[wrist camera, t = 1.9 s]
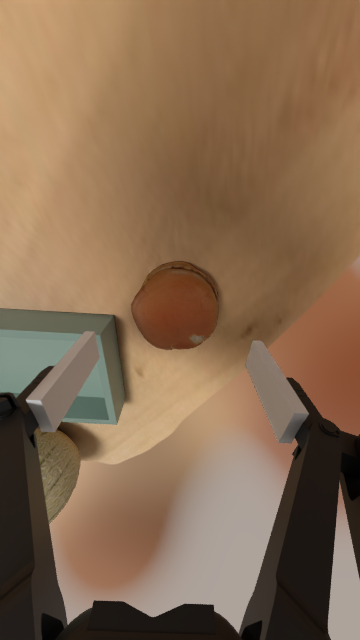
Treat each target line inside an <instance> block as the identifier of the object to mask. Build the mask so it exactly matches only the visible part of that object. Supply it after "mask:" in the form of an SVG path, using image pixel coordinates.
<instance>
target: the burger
mask: <svg viewBox="0 0 360 640" xmlns="http://www.w3.org/2000/svg"><path fill="white" fill-rule="evenodd" d="M217 302H218V293H217V291H216V287H215V286H214V284H213V282H212V281H211V279H210V277H208V276H207V275H206V274H204V273H203V272H201V271H199V270H197V269H196V268H194V267H193V266H192V265H190V264H188V263H185V262H170V263H167V264H163V265H161V266H159V267H157V268H156V269H155V270H153V271H152V272H151V273H150V274H149V275H148V276H147V278H146V279H145V281H144V283H143V285H142V288H141V289H140V291H139V292H138V293H137V295H136V296H135V298H134V300H133V302H132V304H131V310H132V315H133V318H134V320H135V322H136V325H137V326H138V328H139V330H140V332H141V334H142V335H143V336H144V338H145V339H146V340H147V341H148V342H149V343H151V344H152V345H154V346H155V347H157V348H160V349H165V350H172V349H189V348H193V347H196V346H198V345H200V344H201V343H202V342H203V341H205V340H206V339H207V338H209V337H210V335H211V334H212V332H213V331H214V329H215V327H216V324H217V318H218V303H217Z"/></svg>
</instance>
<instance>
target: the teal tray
mask: <svg viewBox="0 0 360 640" xmlns="http://www.w3.org/2000/svg"><path fill="white" fill-rule="evenodd" d="M85 331H93V332H95V336H96V341H97V346H98V351H99V356H100V358H99V360H98V361H97V363H96V365H95V366H94V368H93V370H92V371H91V373H90V375H89V376H88V378H87V380H86V381H85V383H84V385H83V386H82V388H81V390H80V391H79V393H78V395H77V396H76V398H75V400H74V401H73V403H72V405H71V406H70V408H69V410H68V411H67V413H66V415H65V416H64V418H63V420H62V421H61V422H75V423H94V424H113V425H117V423H118V420H119V417H120V414H121V411H122V407H123V404H124V401H125V392H124V385H123V377H122V370H121V363H120V355H119V348H118V341H117V333H116V326H115V319H114V315H104V314H87V313H70V312H52V311H35V310H18V309H1V308H0V393H4V392H10V393H13V394H14V396H15V398H17V397H18V395H19V394H20V393H21V392H22V391H23V390H24V389H25V388H26V387H27V386H28V385H29V384H30V383H31V382H32V380H33V379H34V378H36V376H37V375H38V374H39V373H40V372H41V371H42V370H44V369H45V368H47V367H48V366H55V365H56V364H57V363H58V362H59V361H60V360H61V359H62V357H63V356H64V355H65V354H66V353H67V352H68V350H69V349H70V348H71V347H72V346H73V345H74V344H75V342H76V341H77V340H78V339H79V338H80V337H81V336H82V334H83V333H84V332H85Z"/></svg>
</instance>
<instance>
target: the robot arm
mask: <svg viewBox="0 0 360 640" xmlns="http://www.w3.org/2000/svg"><path fill="white" fill-rule="evenodd" d="M99 358H100V356H99V351H98V346H97V341H96V336H95V332H93V331H85V332H84V333H83V334H82V336H81V337H80V338H79V339H78V340H77V341H76V342H75V344H74V345H73V346H72V347H71V348H70V349H69V350H68V352H67V353H66V354H65V355H64V356H63V357H62V359H61V360H60V361H59V362H58V363H57V364H56V365H55V366H48V367H47V368H45V369H44V370H42V371H41V372H40V373H39V374H38V375H37V376H36V378H34V379H33V380H32V382H31V383H30V384H29V385H28V386H27V387H26V388H25V389H24V390H23V391H22V392H21V393H20V394H19V395H18V397H17V398H15V396H14V394H13V393H10V392H4V393H0V640H331V639H330V637H329V634H328V613H329V612H328V611H329V600H330V588H331V575H332V564H333V552H334V540H335V528H336V516H337V504H338V491H339V480H340V484H341V489H342V494H343V499H344V504H345V509H346V514H347V519H348V524H349V529H350V534H351V539H352V544H353V548H354V553H355V558H356V563H357V567H358V573H359V578H360V435H359V436H355V435H352V434H349V433H346V432H343V431H340V429H339V428H338V427H337V426H336V425H335V424H334V423H332V422H331V421H329V420H327V419H324V418H323V417H322V416H321V415H320V413H319V412H318V410H317V409H316V407H315V406H314V405H313V403H312V402H311V400H310V399H309V397H307V395H306V393H305V392H304V390H303V389H302V388H301V386H300V385H299V383H297V382H296V381H295V380H294V379H293V378H286V377H285V376H284V374H283V373H282V371H281V370H280V368H279V366H278V365H277V363H276V362H275V360H274V359H273V358H272V356H271V354H270V353H269V351H268V350H267V348H266V346H265V345H264V343H263V342H262V341H258V340H253V341H252V344H251V348H250V351H249V355H248V358H247V362H246V365H245V366H246V368H247V370H248V373H249V375H250V377H251V380H252V382H253V384H254V387H255V389H256V391H257V394H258V396H259V398H260V401H261V403H262V406H263V408H264V410H265V413H266V415H267V417H268V420H269V422H270V424H271V427H272V429H273V431H274V434H275V436H276V439H277V441H278V443H292V441H293V439H294V438H295V439H296V441H297V443H298V446H297V447H296V449H295V450H294V452H293V454H292V455H293V456H294V457H293V461H292V464H291V468H290V471H289V474H288V478H287V481H286V484H285V488H284V491H283V495H282V498H281V502H280V505H279V508H278V512H277V515H276V519H275V522H274V526H273V529H272V532H271V536H270V539H269V543H268V546H267V549H266V553H265V556H264V559H263V563H262V567H261V570H260V573H259V577H258V580H257V583H256V587H255V590H254V592H253V595H252V597H251V599H250V601H249V603H248V606H247V609H246V612H245V615H244V618H243V621H242V625H241V628H240V631H239V634H238V633H237V631H236V630H235V629H234V627H233V626H232V625H231V624H230V623H229V622H228V621H227V620H226V619H225V618H224V617H222V616H221V615H220V614H218V613H216V612H215V611H214V605H203V604H183V605H181V606H179V607H176V608H174V609H172V610H170V611H168V612H165V613H163V614H161V615H159V616H156V617H150V616H148V615H146V614H145V613H143V612H141V611H139V610H137V609H136V608H134V607H132V606H130V605H129V604H127V603H125V602H121V601H94V602H93V607H92V608H90V609H88V610H86V611H85V612H83V613H82V614H80V615H79V616H78V617H77V618H75V619H74V620H73V621H72V622H70V624H69V625H68V624H67V618H66V611H65V606H64V601H63V597H62V594H61V591H60V588H59V586H58V581H57V575H56V568H55V561H54V555H53V548H52V542H51V534H50V529H49V521H48V514H47V508H46V501H45V494H44V488H43V481H42V474H41V468H40V461H39V454H38V448H37V441H36V435H35V433H34V431H35V430H36V429H37V427H38V426H39V427H40V429H41V431H42V432H55V431H56V430H57V428H58V426H59V425H60V423H61V421H62V420H63V418H64V416H65V415H66V413H67V411H68V410H69V408H70V406H71V405H72V403H73V401H74V400H75V398H76V396H77V395H78V393H79V391H80V390H81V388H82V386H83V385H84V383H85V381H86V380H87V378H88V376H89V375H90V373H91V371H92V370H93V368H94V366H95V365H96V363H97V361H98V360H99Z"/></svg>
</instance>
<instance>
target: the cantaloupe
mask: <svg viewBox="0 0 360 640" xmlns="http://www.w3.org/2000/svg"><path fill="white" fill-rule="evenodd" d="M34 433H35V435H36V441H37V448H38V454H39V461H40V468H41V474H42V481H43V488H44V494H45V501H46V508H47V514H48V521H49V524H50V523H51V522H52V520H54V519H55V518H56V517H57V515H58V514H59V512H60V511H61V510H62V509H63V508H64V506H65V505H66V503H67V502H68V500H69V498H70V496H71V494H72V492H73V490H74V488H75V486H76V482H77V478H78V475H79V469H80V454H79V451H78V448H77V446H76V445H75V444H74V443H73V441H72V440H71V439H70V438H69V437H68V436H67V435H66V434H65V433H63V432H61V431H59V430H56V431H55V432H42V431H41V429H40V428H37V429H36V430H35V431H34Z"/></svg>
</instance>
